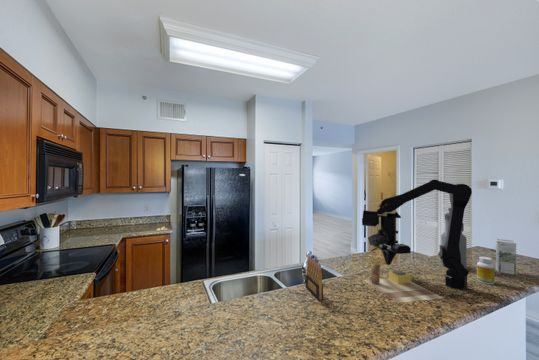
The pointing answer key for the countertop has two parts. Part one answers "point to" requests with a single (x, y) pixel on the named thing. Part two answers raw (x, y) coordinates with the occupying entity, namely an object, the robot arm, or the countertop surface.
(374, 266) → the wooden tool handle
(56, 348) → the countertop surface
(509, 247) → the syrup box
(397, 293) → the plywood panel
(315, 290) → the ammunition clip
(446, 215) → the water bottle
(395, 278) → the block
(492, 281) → the supplement bottle
